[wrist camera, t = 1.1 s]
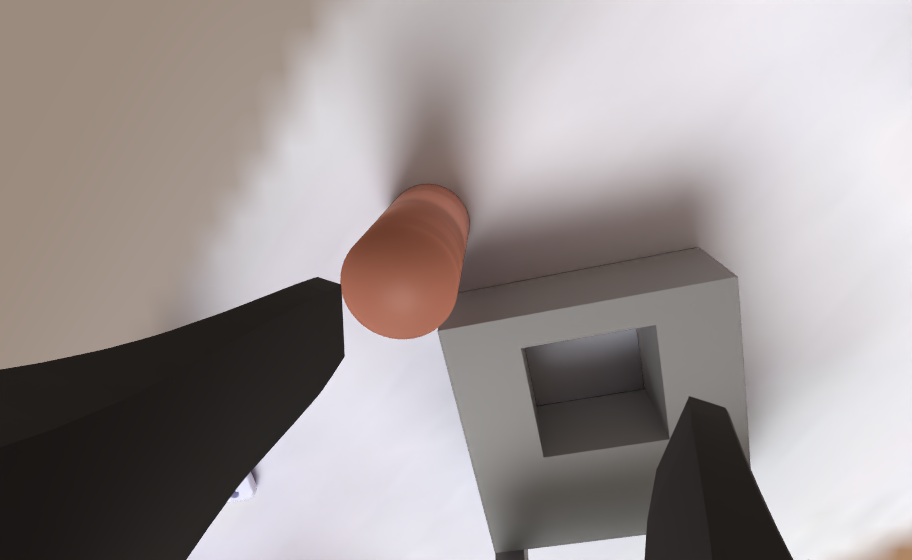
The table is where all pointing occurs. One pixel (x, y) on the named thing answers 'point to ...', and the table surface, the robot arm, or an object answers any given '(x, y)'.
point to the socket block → (592, 419)
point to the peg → (408, 264)
